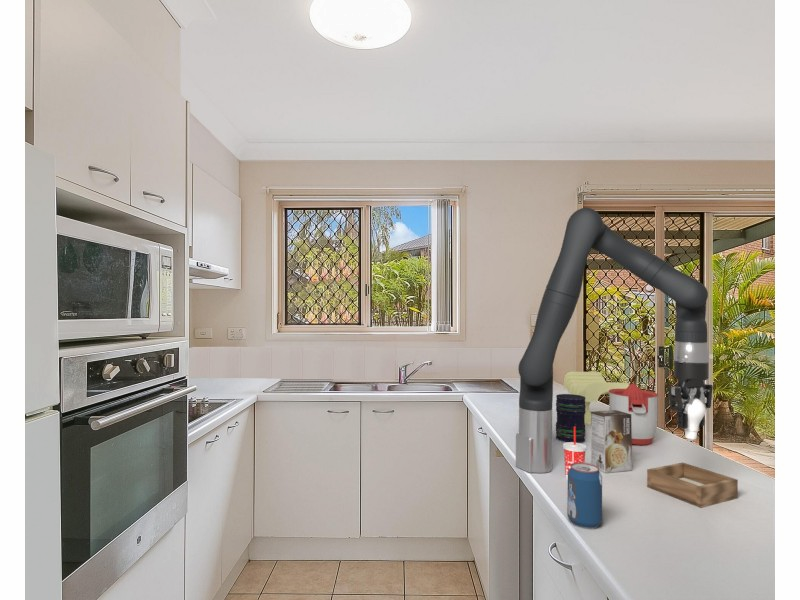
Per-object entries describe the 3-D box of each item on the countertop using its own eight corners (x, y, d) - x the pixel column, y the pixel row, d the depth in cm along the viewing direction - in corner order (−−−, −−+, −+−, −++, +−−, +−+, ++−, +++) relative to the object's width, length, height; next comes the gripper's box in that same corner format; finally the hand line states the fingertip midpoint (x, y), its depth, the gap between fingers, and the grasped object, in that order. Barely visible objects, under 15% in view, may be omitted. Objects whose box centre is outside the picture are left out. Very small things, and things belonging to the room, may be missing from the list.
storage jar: (581, 436, 173) (581, 394, 173) (589, 443, 163) (589, 399, 163) (552, 434, 174) (553, 393, 174) (559, 442, 164) (559, 398, 164)
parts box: (700, 507, 111) (700, 488, 111) (647, 486, 124) (647, 469, 124) (737, 498, 117) (737, 479, 117) (682, 479, 130) (682, 462, 130)
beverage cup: (588, 477, 130) (588, 425, 131) (584, 484, 125) (584, 430, 125) (565, 473, 134) (565, 422, 134) (560, 480, 128) (560, 427, 128)
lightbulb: (679, 436, 125) (679, 393, 125) (706, 440, 121) (707, 397, 121) (674, 440, 120) (675, 396, 120) (703, 445, 116) (703, 400, 117)
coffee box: (616, 463, 142) (617, 409, 142) (632, 471, 136) (632, 414, 136) (590, 466, 140) (590, 411, 140) (605, 473, 134) (605, 415, 134)
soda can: (606, 522, 103) (607, 466, 103) (595, 533, 98) (595, 474, 98) (574, 513, 108) (575, 459, 108) (562, 523, 102) (562, 467, 103)
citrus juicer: (614, 447, 159) (614, 386, 160) (604, 433, 176) (605, 379, 176) (665, 450, 156) (666, 389, 156) (651, 436, 172) (651, 381, 173)
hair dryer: (563, 411, 213) (563, 371, 214) (600, 412, 212) (600, 372, 213) (585, 428, 183) (585, 382, 184) (628, 429, 182) (628, 382, 183)
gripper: (694, 357, 127) (694, 420, 127) (658, 359, 121) (657, 426, 121) (724, 360, 121) (723, 427, 120) (686, 362, 115) (686, 433, 114)
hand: (690, 426), depth 121 cm, fingers closed on lightbulb, 6 cm apart
